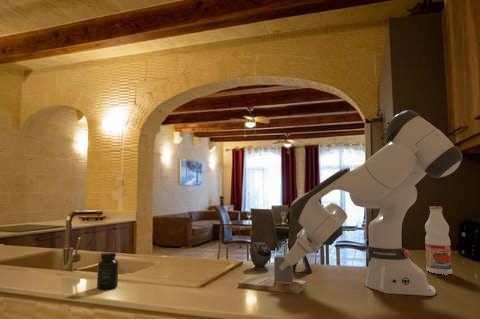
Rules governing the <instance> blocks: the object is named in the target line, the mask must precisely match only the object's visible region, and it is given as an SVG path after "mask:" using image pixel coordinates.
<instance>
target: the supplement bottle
mask: <svg viewBox="0 0 480 319" xmlns="http://www.w3.org/2000/svg"><path fill="white" fill-rule="evenodd" d="M116 254H117V253H116V252H115V251H113V252H112V251H111V252H110V251H108V252H102V253H101V254H100V259H101V260H99V262H98V264H97V275H96V276H97V277H96V278H97V279H96V288H97V289H98V290H99V291H107V290H113V289H116V288H117V287H118V284H119V283H118V282H119V281H118V280H119V261H118V260H117V259H116V257H117V256H116Z"/></svg>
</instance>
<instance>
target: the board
mask: <svg viewBox="0 0 480 319" xmlns="http://www.w3.org/2000/svg"><path fill="white" fill-rule="evenodd" d="M237 284H238V285H237V288H243V289H251V290H262V291H269V292H277V291H278V292H280V293H288V294H297V295H298V294H299V295H300V294H301V293H302V291H303V290H304V289H305V288H306V286H307V285H308V284H307V280H300V279H293V282H292V284H285V283H275V277H271V276H270V277H269V276H259V275H248V276H247V277H245V278H244V279H242V280H240V281H239V282H237ZM278 292H277V293H278Z"/></svg>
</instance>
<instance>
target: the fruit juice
mask: <svg viewBox="0 0 480 319" xmlns="http://www.w3.org/2000/svg"><path fill="white" fill-rule="evenodd" d="M429 211H430V212H429V216H428V219H427V220H426V222H425V224H424V229H425V230H424V231H425V232H426V234H425V238H424V239H425V241H424V245H425V263H426V265H425V266H426V272H427V271H429V272H432V273H436V274H442V275H441V276H449V275H448V274H451V275H453V269H452V268H453V262H452V249H451V246H452V244H451V239H450V237H449V233H450V226H449V224H448V222H447V221H446V219H445V217H444V215H443V206H435V205H433V206H429ZM436 274H435V275H436ZM443 274H444V275H443Z"/></svg>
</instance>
